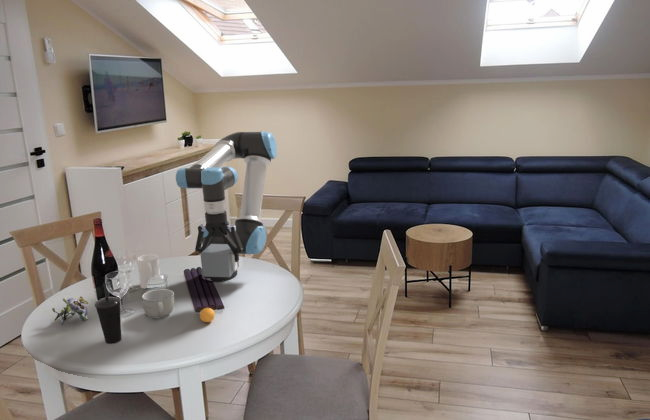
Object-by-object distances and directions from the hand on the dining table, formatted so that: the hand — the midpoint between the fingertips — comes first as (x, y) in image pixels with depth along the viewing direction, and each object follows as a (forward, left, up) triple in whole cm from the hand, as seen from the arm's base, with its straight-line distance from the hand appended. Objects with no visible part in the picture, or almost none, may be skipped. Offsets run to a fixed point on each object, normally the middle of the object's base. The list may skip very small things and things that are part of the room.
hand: (221, 269), depth 187 cm
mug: (-12, -36, -14) cm, 41 cm away
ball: (+15, 0, -11) cm, 18 cm away
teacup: (+13, -19, -14) cm, 27 cm away
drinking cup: (+31, -26, -14) cm, 43 cm away
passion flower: (+21, -48, -14) cm, 54 cm away
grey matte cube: (0, 0, -1) cm, 1 cm away
